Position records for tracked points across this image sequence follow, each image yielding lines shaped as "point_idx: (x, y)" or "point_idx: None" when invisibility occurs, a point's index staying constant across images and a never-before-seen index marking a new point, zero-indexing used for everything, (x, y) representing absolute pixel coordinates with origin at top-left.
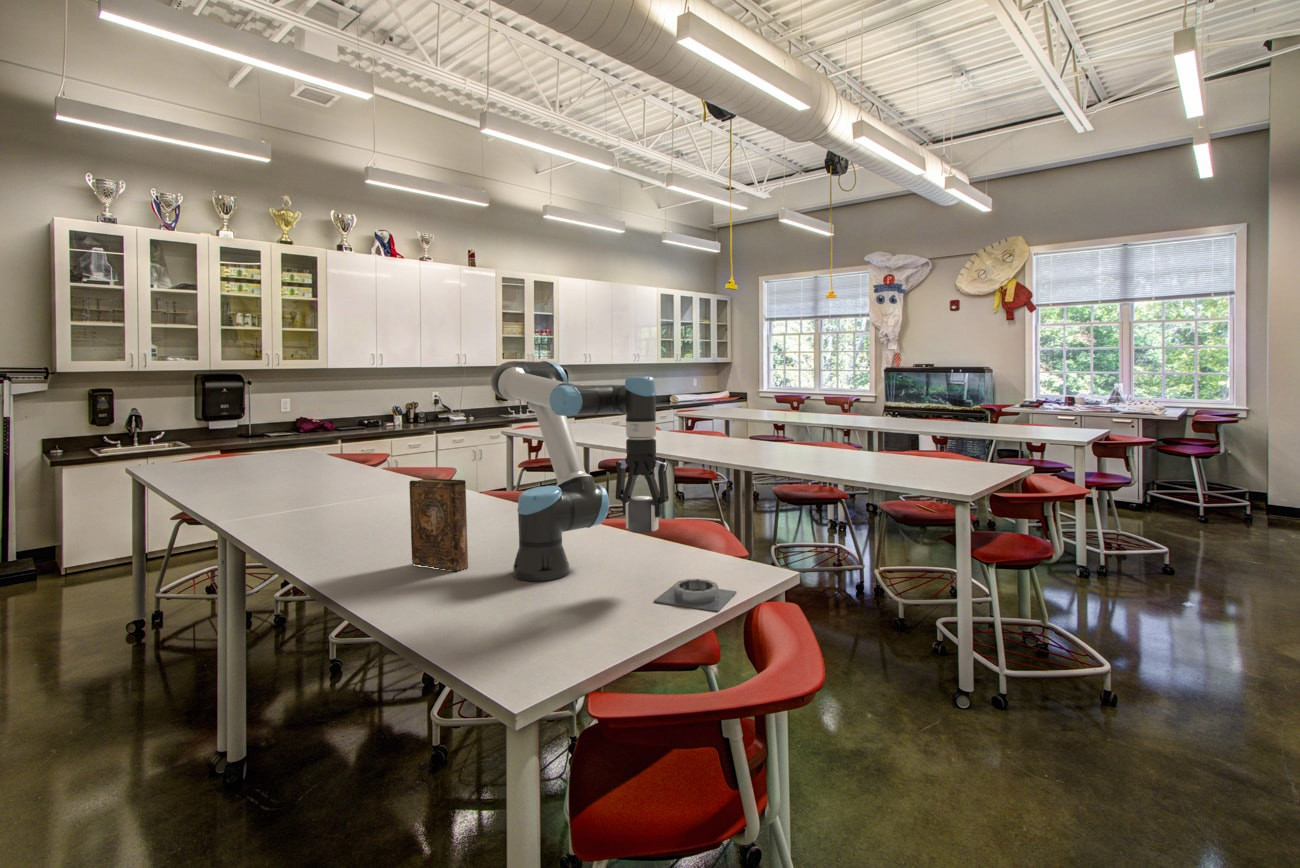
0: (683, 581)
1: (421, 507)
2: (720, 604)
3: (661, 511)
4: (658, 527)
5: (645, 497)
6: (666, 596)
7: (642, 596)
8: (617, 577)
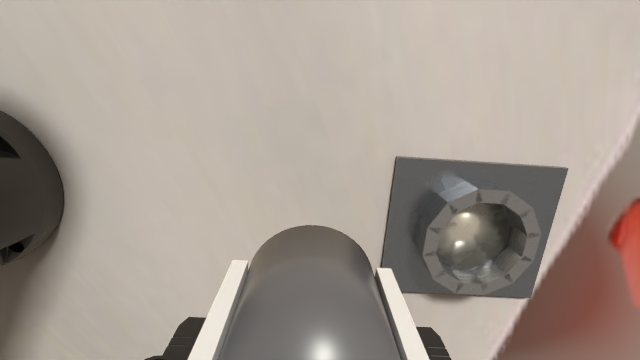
0: (442, 224)
1: None
2: (532, 268)
3: (447, 353)
4: (392, 272)
5: None
6: (400, 259)
7: None
8: (209, 144)
